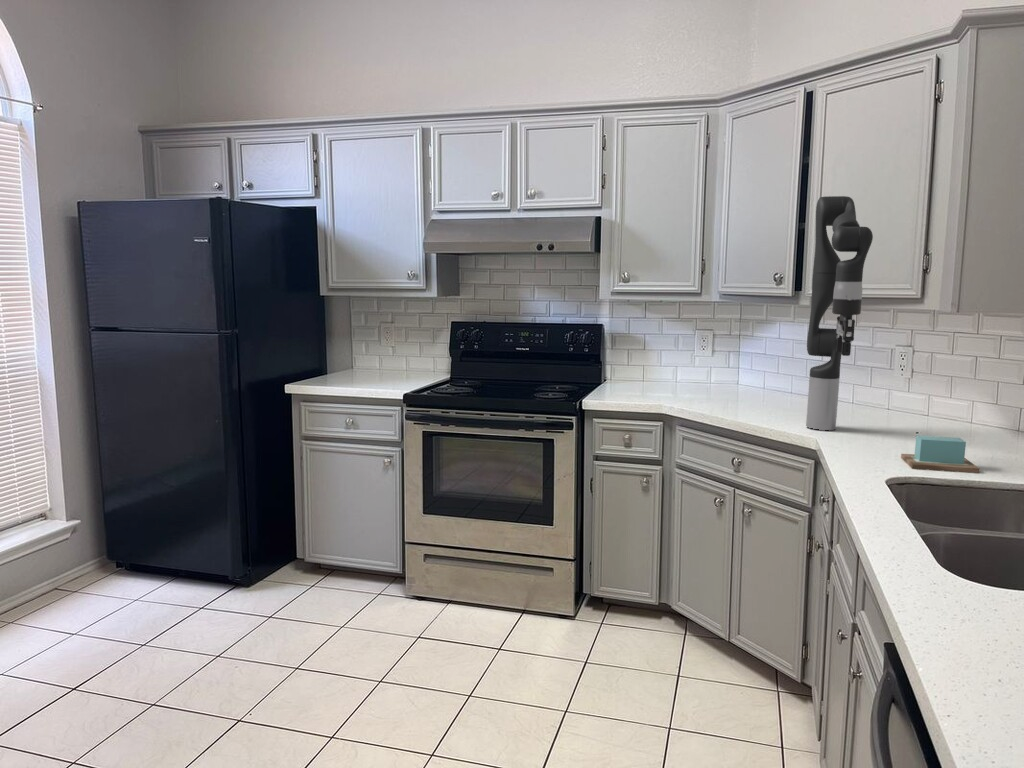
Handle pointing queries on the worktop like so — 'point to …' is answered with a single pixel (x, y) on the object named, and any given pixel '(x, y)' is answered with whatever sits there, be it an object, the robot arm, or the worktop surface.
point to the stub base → (939, 465)
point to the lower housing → (940, 449)
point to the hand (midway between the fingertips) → (843, 353)
